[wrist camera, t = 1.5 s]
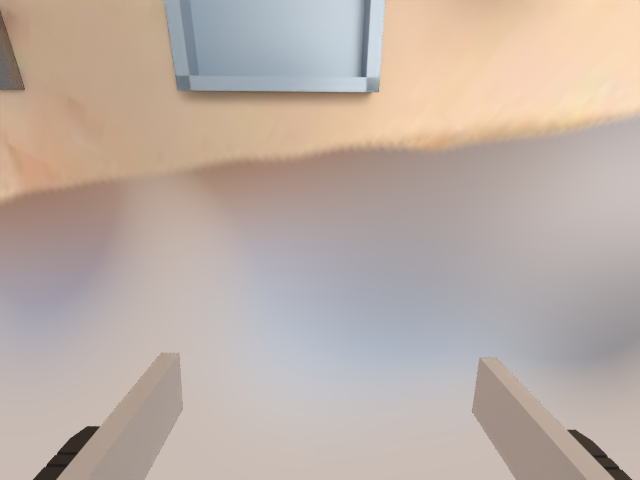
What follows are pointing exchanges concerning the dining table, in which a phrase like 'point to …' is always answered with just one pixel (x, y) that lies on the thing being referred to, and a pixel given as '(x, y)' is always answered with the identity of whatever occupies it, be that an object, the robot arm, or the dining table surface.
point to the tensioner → (8, 63)
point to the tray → (276, 44)
